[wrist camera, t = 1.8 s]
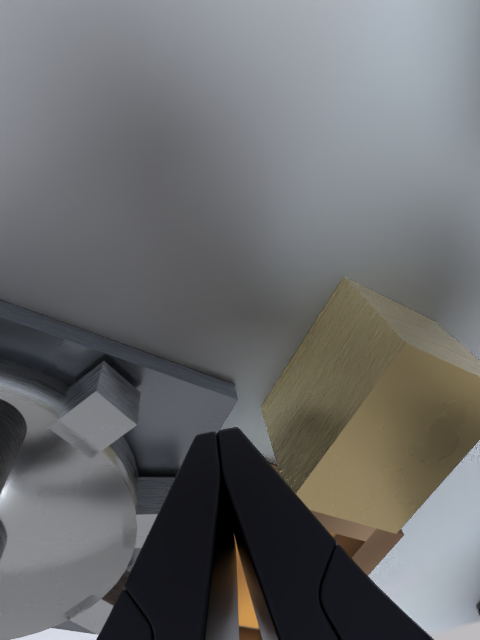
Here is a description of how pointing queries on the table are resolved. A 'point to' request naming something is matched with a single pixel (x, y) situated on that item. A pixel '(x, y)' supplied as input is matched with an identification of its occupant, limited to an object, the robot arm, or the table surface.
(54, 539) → the sprocket
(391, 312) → the tan rectangular block
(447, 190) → the table surface
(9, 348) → the sprocket base
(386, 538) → the brown open tray
